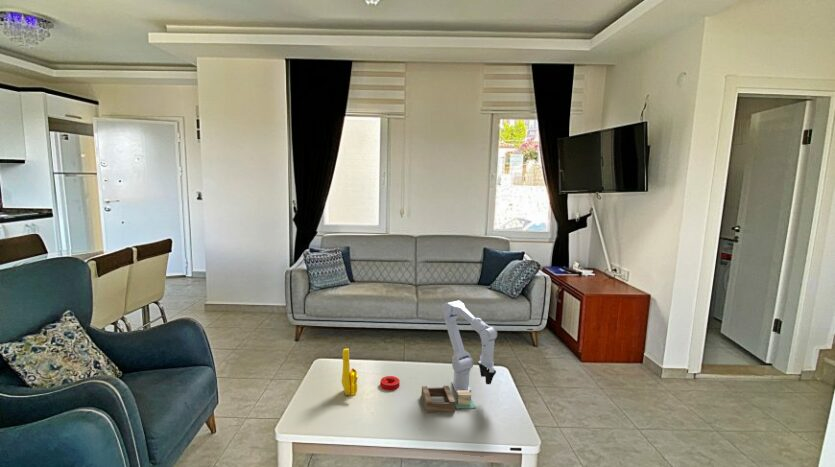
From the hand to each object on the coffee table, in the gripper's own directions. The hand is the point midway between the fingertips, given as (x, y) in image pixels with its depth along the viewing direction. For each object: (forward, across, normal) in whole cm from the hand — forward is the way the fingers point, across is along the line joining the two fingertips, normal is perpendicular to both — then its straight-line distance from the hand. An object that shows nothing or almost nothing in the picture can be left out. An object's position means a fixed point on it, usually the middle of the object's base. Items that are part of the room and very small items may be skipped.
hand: (485, 380), depth 199 cm
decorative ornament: (+11, -18, -44) cm, 49 cm away
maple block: (+10, +2, -11) cm, 15 cm away
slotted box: (+11, +1, -23) cm, 25 cm away
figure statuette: (+10, -13, -64) cm, 66 cm away
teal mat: (+10, +2, -11) cm, 15 cm away
